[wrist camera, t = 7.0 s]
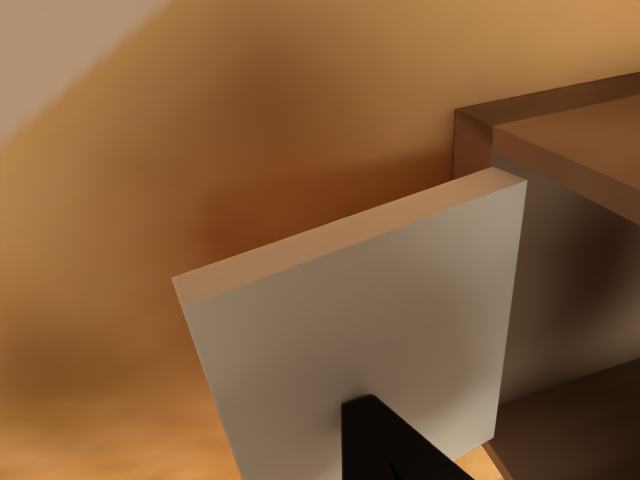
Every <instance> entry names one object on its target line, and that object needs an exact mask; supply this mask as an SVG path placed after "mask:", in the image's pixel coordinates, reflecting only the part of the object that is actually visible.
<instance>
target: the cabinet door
mask: <svg viewBox="0 0 640 480" xmlns="http://www.w3.org/2000/svg"><path fill="white" fill-rule="evenodd" d="M526 188H527V179H524V178H521V177H519V176H516V175H514V174H511V173H509V172H506V171H503V170H501V169H498V168H496V167H490V168H487V169H484V170H481V171H479V172H476V173H473V174H470V175H467V176H464V177H461V178H458V179H455V180H452V181H450V182H447V183H444V184H441V185H438V186H435V187H432V188H429V189H426V190H423V191H421V192H418V193H415V194H412V195H409V196H406V197H403V198H400V199H397V200H395V201H392V202H389V203H386V204H383V205H380V206H377V207H374V208H371V209H368V210H366V211H363V212H360V213H357V214H354V215H351V216H348V217H345V218H342V219H340V220H337V221H334V222H331V223H328V224H325V225H322V226H319V227H316V228H313V229H311V230H308V231H305V232H302V233H299V234H296V235H293V236H290V237H287V238H285V239H282V240H279V241H276V242H273V243H270V244H267V245H264V246H261V247H258V248H256V249H253V250H250V251H247V252H244V253H241V254H238V255H235V256H232V257H229V258H227V259H224V260H221V261H218V262H215V263H212V264H209V265H206V266H203V267H201V268H198V269H195V270H192V271H189V272H186V273H183V274H180V275H177V276H174V277H172V278H171V280H172V282H173V285H174V288H175V291H176V294H177V297H178V300H179V302H180V305H181V308H182V311H183V314H184V317H185V320H186V322H187V325H188V328H189V331H190V334H191V337H192V340H193V342H194V345H195V348H196V351H197V354H198V357H199V359H200V362H201V365H202V368H203V371H204V374H205V377H206V379H207V382H208V385H209V388H210V391H211V394H212V397H213V399H214V402H215V405H216V408H217V411H218V414H219V417H220V419H221V422H222V425H223V428H224V431H225V434H226V437H227V439H228V442H229V445H230V448H231V451H232V454H233V457H234V459H235V462H236V465H237V468H238V471H239V474H240V477H241V479H242V480H342V459H341V404H342V403H343V402H345V401H348V400H352V399H355V398H358V397H361V396H364V395H367V394H374V395H375V396H377V397H378V398H379V399H380V400H381V401H383V402H384V403H385V404H386V405H387V406H388V407H390V408H391V409H392V410H393V411H394V412H395V413H397V414H398V415H399V416H400V417H401V418H403V419H404V420H405V421H406V422H407V423H408V424H410V425H411V426H412V427H413V428H414V429H415V430H417V431H418V432H419V433H420V434H421V435H422V436H424V437H425V438H426V439H427V440H428V441H430V442H431V443H432V444H433V445H434V446H435V447H437V448H438V449H439V450H440V451H441V452H442V453H444V454H445V455H446V456H447V457H448V458H450V459H451V460H452V461H453V462H454V461H455V460H457V459H459V458H460V457H462V456H464V455H465V454H467V453H469V452H470V451H472V450H474V449H475V448H477V447H479V446H480V445H482V444H483V443H485V442H487V441H488V440H490V439H492V438H493V437H494V431H495V423H496V415H497V408H498V400H499V393H500V385H501V377H502V370H503V362H504V355H505V347H506V340H507V332H508V324H509V317H510V309H511V302H512V294H513V286H514V279H515V271H516V264H517V256H518V248H519V241H520V233H521V226H522V218H523V211H524V203H525V195H526Z"/></svg>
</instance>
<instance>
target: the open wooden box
mask: <svg viewBox="0 0 640 480" xmlns="http://www.w3.org/2000/svg"><path fill="white" fill-rule="evenodd" d="M490 167H496V168H498V169H501V170H503V171H506V172H509V173H511V174H514V175H516V176H519V177H521V178H524V179H527V188H526V195H525V203H524V211H523V218H522V226H521V233H520V241H519V248H518V256H517V264H516V271H515V279H514V286H513V294H512V302H511V309H510V317H509V324H508V332H507V340H506V347H505V355H504V362H503V370H502V377H501V385H500V393H499V400H498V408H497V415H496V423H495V431H494V437H493V438H492V439H490V440H488V441H487V442H485V443H483V444H482V446H483V448H484V449H485V451H486V452H487V454H488V455H489V457H490V458H491V460H492V461H493V463H494V464H495V466H496V467H497V469H498V470H499V472H500V473H501V475H502V476H503V478H504V479H505V480H640V72H638V73H633V74H628V75H623V76H618V77H613V78H608V79H603V80H598V81H593V82H588V83H583V84H578V85H573V86H568V87H563V88H558V89H553V90H548V91H543V92H539V93H534V94H529V95H524V96H519V97H514V98H509V99H504V100H499V101H494V102H489V103H484V104H479V105H474V106H469V107H464V108H459V109H456V114H455V140H454V165H453V180H455V179H458V178H461V177H464V176H467V175H470V174H473V173H476V172H479V171H481V170H484V169H487V168H490Z"/></svg>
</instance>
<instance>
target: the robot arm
mask: <svg viewBox="0 0 640 480" xmlns="http://www.w3.org/2000/svg"><path fill="white" fill-rule="evenodd" d="M341 459H342V480H474V479H473V478H472V477H471V476H469V475H468V474H467V473H466V472H465V471H464V470H462V469H461V468H460V467H459V466H458V465H457V464H455V463H454V462H453V461H452V460H451V459H450V458H448V457H447V456H446V455H445V454H444V453H442V452H441V451H440V450H439V449H438V448H437V447H435V446H434V445H433V444H432V443H431V442H430V441H428V440H427V439H426V438H425V437H424V436H422V435H421V434H420V433H419V432H418V431H417V430H415V429H414V428H413V427H412V426H411V425H410V424H408V423H407V422H406V421H405V420H404V419H403V418H401V417H400V416H399V415H398V414H397V413H395V412H394V411H393V410H392V409H391V408H390V407H388V406H387V405H386V404H385V403H384V402H383V401H381V400H380V399H379V398H378V397H377V396H375V395H374V394H367V395H364V396H361V397H358V398H355V399H352V400H348V401H345V402H343V403H342V404H341Z"/></svg>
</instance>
